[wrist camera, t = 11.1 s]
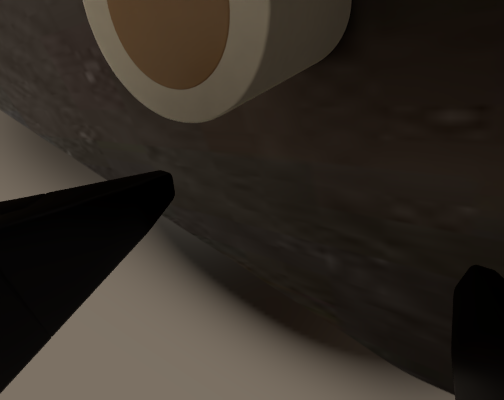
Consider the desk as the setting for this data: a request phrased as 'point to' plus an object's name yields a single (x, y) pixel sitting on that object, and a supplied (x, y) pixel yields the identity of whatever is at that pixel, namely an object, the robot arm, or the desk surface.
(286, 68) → the paper towel roll
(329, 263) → the desk surface
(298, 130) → the desk surface
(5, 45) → the desk surface
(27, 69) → the desk surface
